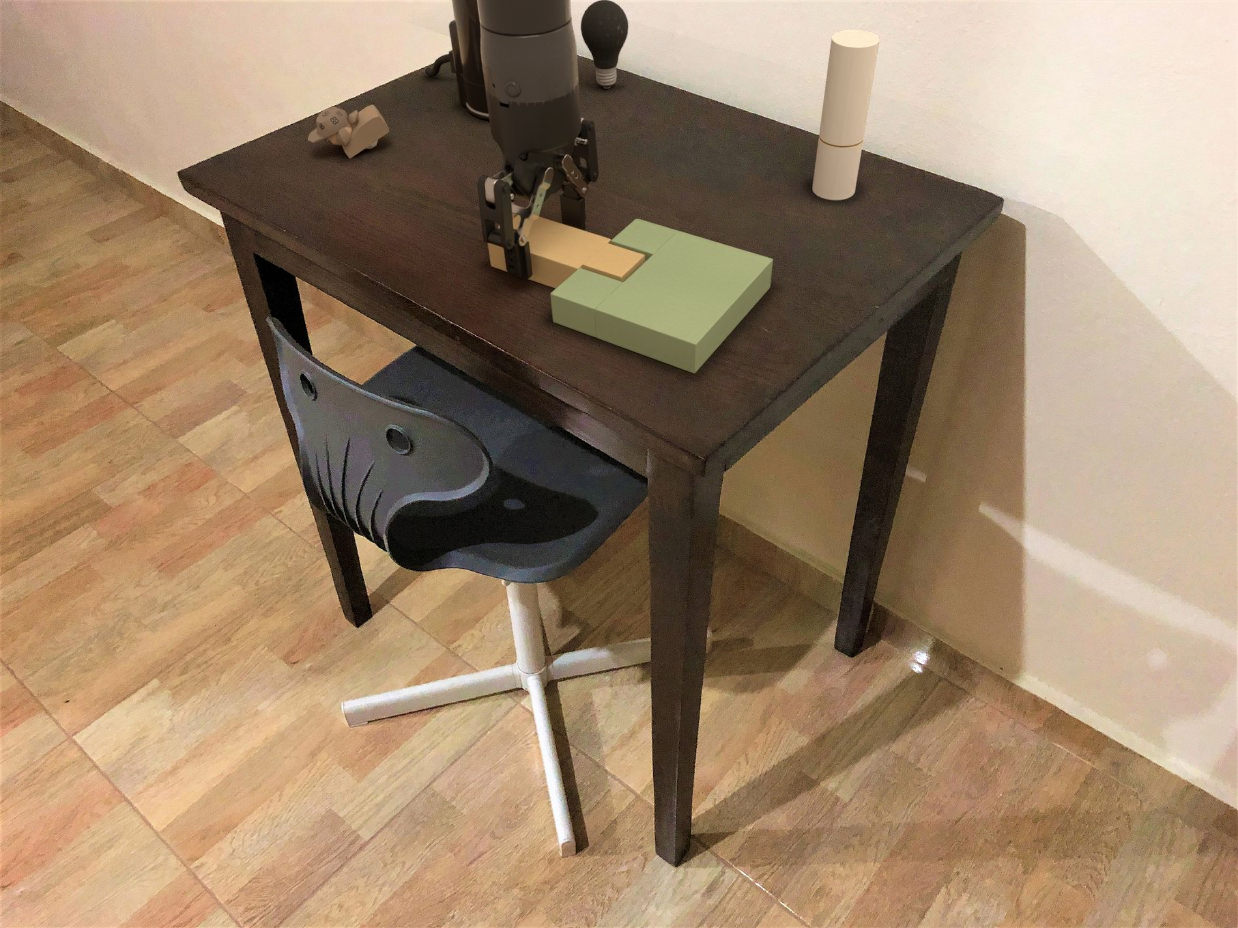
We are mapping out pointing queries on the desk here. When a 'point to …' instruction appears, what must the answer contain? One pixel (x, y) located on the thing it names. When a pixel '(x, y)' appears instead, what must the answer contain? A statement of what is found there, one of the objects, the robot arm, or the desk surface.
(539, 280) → the loose pad
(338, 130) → the toy character
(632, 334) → the base pad
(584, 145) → the robot arm
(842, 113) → the tube
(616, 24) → the light bulb
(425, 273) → the desk surface
